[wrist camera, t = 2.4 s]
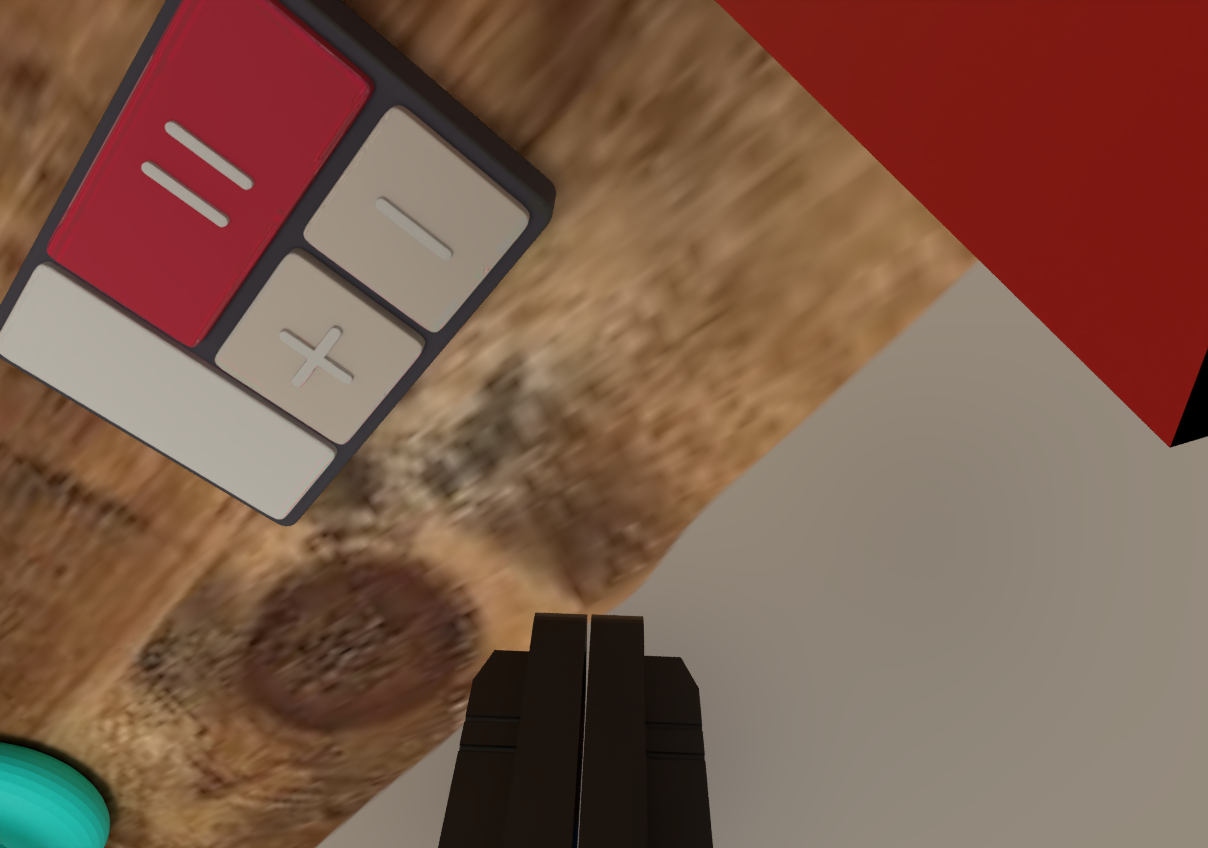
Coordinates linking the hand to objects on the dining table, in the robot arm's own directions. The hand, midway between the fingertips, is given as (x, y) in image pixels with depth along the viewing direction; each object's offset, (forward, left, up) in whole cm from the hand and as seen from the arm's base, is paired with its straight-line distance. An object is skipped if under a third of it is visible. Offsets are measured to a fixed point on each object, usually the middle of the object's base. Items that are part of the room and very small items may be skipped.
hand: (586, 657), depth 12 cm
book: (-20, +9, -18) cm, 28 cm away
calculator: (+1, -11, -18) cm, 21 cm away
